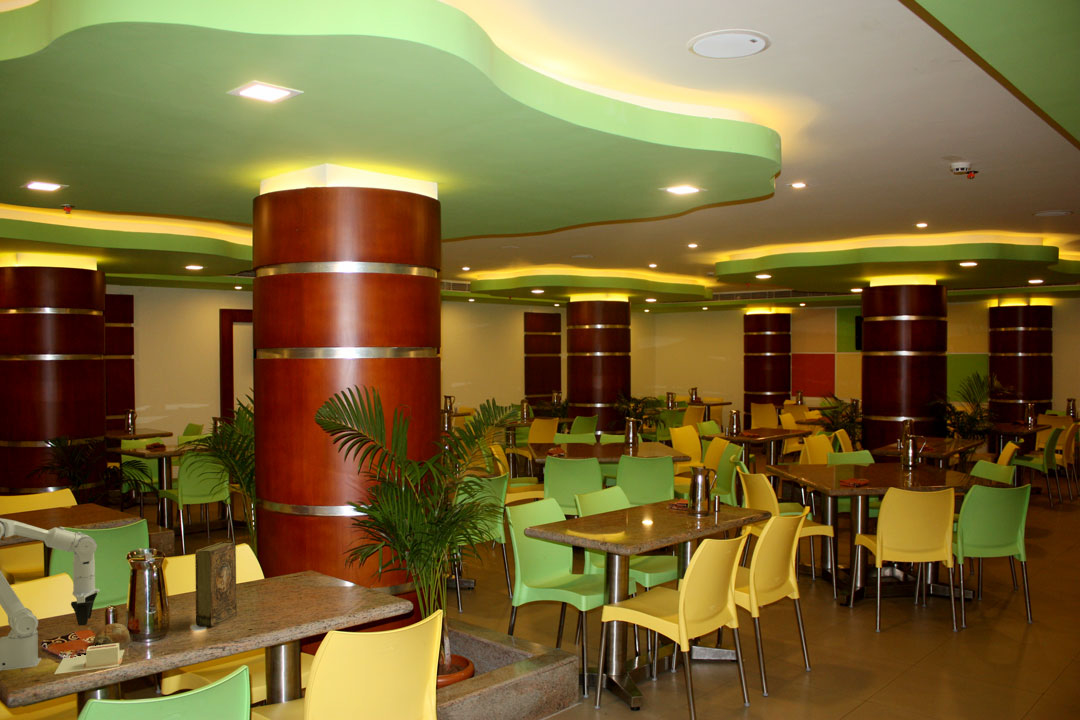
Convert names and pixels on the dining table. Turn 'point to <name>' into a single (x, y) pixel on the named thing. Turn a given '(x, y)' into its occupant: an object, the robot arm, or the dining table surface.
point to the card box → (102, 655)
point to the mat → (82, 664)
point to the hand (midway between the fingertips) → (84, 621)
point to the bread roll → (112, 635)
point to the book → (215, 583)
